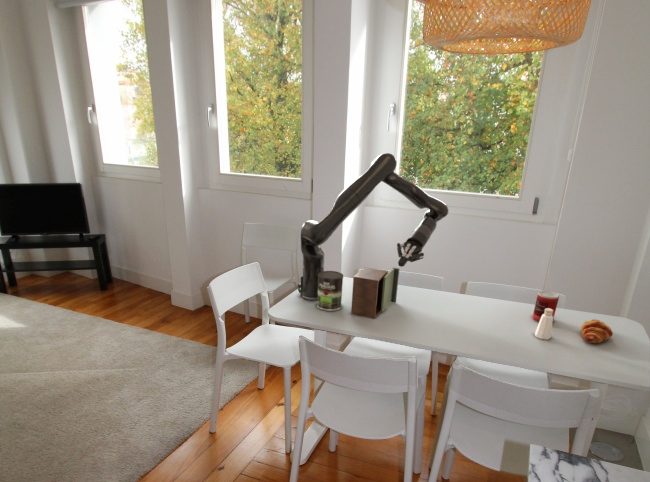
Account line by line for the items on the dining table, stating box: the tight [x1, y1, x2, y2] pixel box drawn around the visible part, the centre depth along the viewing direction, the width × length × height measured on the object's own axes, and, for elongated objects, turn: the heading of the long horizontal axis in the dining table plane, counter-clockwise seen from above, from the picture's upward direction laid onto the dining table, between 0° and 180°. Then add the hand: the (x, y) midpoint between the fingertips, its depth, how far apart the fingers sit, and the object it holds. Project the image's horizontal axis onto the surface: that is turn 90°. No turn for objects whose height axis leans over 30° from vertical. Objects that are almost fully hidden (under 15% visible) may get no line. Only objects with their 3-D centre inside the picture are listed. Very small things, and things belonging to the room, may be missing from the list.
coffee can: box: [316, 270, 344, 312], centre depth 194 cm, size 10×10×14 cm
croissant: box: [580, 319, 614, 344], centre depth 174 cm, size 21×10×8 cm, turn 141°
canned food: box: [532, 290, 560, 323], centre depth 187 cm, size 8×8×11 cm
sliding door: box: [380, 267, 400, 313], centre depth 194 cm, size 3×14×15 cm, turn 155°
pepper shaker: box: [534, 308, 554, 341], centre depth 172 cm, size 5×5×11 cm
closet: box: [350, 267, 389, 320], centre depth 191 cm, size 10×14×16 cm
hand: (400, 265), depth 193 cm, fingers closed
